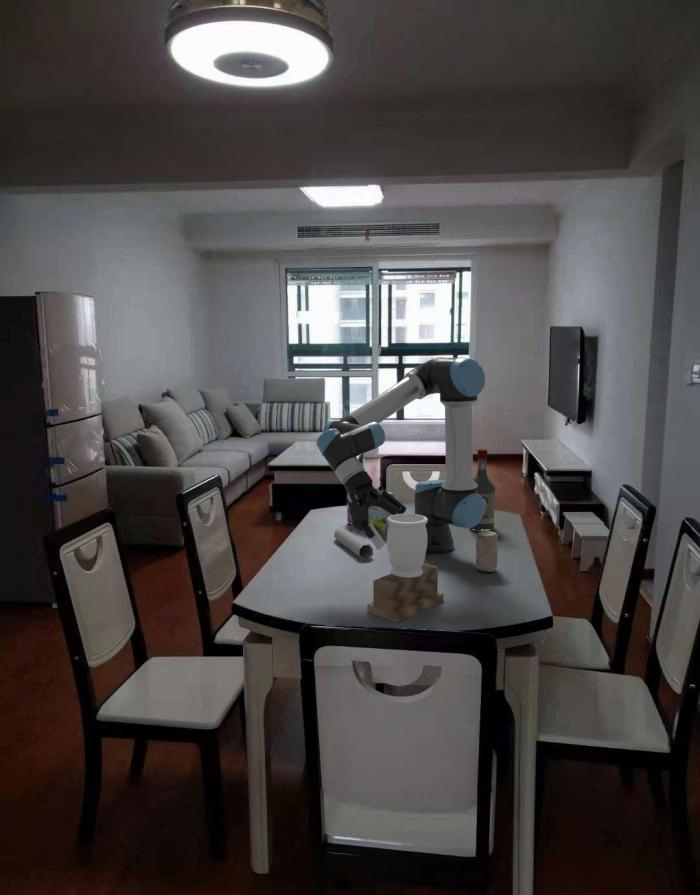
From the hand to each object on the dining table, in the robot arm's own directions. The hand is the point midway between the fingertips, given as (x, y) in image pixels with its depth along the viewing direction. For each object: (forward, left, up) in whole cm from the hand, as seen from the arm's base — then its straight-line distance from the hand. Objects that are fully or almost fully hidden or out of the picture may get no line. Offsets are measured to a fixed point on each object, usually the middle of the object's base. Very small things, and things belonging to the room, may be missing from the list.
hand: (397, 541), depth 177 cm
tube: (-28, -42, -18) cm, 54 cm away
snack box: (-53, -55, -17) cm, 78 cm away
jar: (0, +3, -8) cm, 9 cm away
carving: (-39, +4, -17) cm, 43 cm away
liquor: (-80, -23, -17) cm, 85 cm away
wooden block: (0, +3, -17) cm, 17 cm away
